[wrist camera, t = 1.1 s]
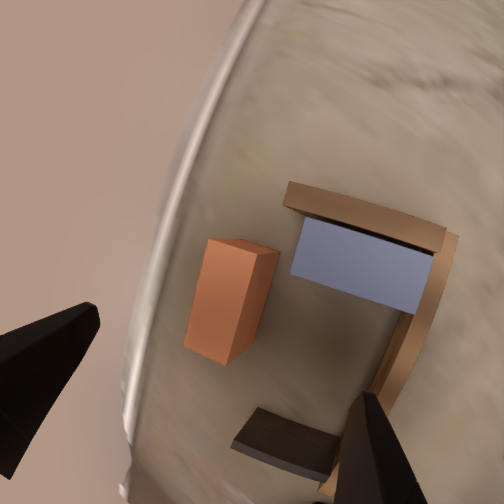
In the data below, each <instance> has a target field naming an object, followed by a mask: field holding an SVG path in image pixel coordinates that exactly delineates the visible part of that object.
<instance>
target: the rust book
mask: <svg viewBox="0 0 504 504" xmlns="http://www.w3.org/2000/svg"><path fill="white" fill-rule="evenodd" d="M279 254H280V252H279V251H276V250H273V249H270V248H267V247H263V246H260V245H257V244H254V243H251V242H247V241H244V240H241V239H208V243H207V247H206V251H205V255H204V259H203V263H202V267H201V271H200V275H199V279H198V284H197V288H196V292H195V296H194V301H193V305H192V309H191V314H190V318H189V323H188V327H187V332H186V336H185V341H184V346H185V347H187V348H189V349H191V350H193V351H195V352H197V353H199V354H201V355H203V356H205V357H207V358H209V359H212V360H214V361H216V362H218V363H220V364H222V365H224V366H226V365H227V364H229V363H230V362H231V361H232V360H233V359H235V358H236V357H237V356H238V355H239V354H241V353H242V352H243V351H244V350H245V349H246V348H248V347H249V346H250V345H251V344H252V343H253V341H254V338H255V335H256V331H257V328H258V325H259V322H260V318H261V315H262V312H263V308H264V305H265V302H266V298H267V295H268V292H269V288H270V285H271V282H272V278H273V275H274V271H275V268H276V264H277V261H278V258H279Z"/></svg>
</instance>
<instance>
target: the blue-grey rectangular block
mask: <svg viewBox="0 0 504 504" xmlns="http://www.w3.org/2000/svg"><path fill="white" fill-rule="evenodd" d="M433 258H434V257H432V256H430V255H427V254H424V253H421V252H418V251H415V250H412V249H409V248H406V247H403V246H400V245H397V244H394V243H391V242H388V241H384V240H381V239H378V238H375V237H372V236H369V235H365V234H362V233H359V232H356V231H353V230H349V229H346V228H343V227H339V226H336V225H333V224H329V223H326V222H322V221H319V220H315V219H312V218H308V217H305V221H304V224H303V228H302V231H301V235H300V238H299V242H298V245H297V249H296V252H295V256H294V259H293V263H292V266H291V269H290V273H289V274H292V275H295V276H298V277H301V278H304V279H307V280H310V281H313V282H316V283H319V284H322V285H325V286H328V287H331V288H334V289H337V290H340V291H343V292H346V293H349V294H352V295H355V296H358V297H361V298H365V299H368V300H371V301H374V302H377V303H380V304H383V305H386V306H389V307H392V308H395V309H398V310H401V311H405V312H408V313H411V314H414V315H415V313H416V310H417V307H418V305H419V302H420V299H421V296H422V293H423V290H424V287H425V284H426V281H427V278H428V275H429V272H430V268H431V265H432V262H433Z"/></svg>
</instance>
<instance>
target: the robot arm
mask: <svg viewBox="0 0 504 504" xmlns="http://www.w3.org/2000/svg"><path fill="white" fill-rule="evenodd" d="M99 328H100V318H99V313H98V309H97V307H96V305H94V304H92V303H90V302H84V303H81V304H79V305H76V306H73V307H71V308H68V309H66V310H63V311H61V312H58V313H55V314H53V315H50V316H48V317H46V318H43V319H40V320H38V321H35V322H33V323H30V324H28V325H25V326H23V327H20V328H18V329H15V330H13V331H10V332H8V333H5V334H4V335H0V474H1V475H3V476H4V477H5V478H7V479H9V480H10V479H11V478H12V476H13V474H14V472H15V470H16V468H17V466H18V464H19V463H20V461H21V459H22V457H23V455H24V454H25V452H26V450H27V448H28V446H29V444H30V442H31V441H32V439H33V437H34V435H35V434H36V432H37V430H38V429H39V427H40V425H41V424H42V422H43V420H44V419H45V417H46V415H47V414H48V412H49V410H50V409H51V407H52V406H53V404H54V402H55V401H56V399H57V397H58V396H59V395H60V393H61V391H62V390H63V388H64V387H65V385H66V384H67V382H68V381H69V379H70V378H71V376H72V374H73V373H74V372H75V370H76V369H77V367H78V366H79V364H80V362H81V361H82V359H83V357H84V356H85V354H86V352H87V350H88V348H89V346H90V344H91V343H92V341H93V339H94V337H95V335H96V333H97V332H98V330H99ZM416 481H417V479H416V477H415V475H414V473H413V471H412V468H411V466H410V464H409V462H408V460H407V458H406V455H405V453H404V451H403V449H402V447H401V445H400V443H399V441H398V439H397V436H396V434H395V432H394V430H393V428H392V426H391V424H390V422H389V420H388V418H387V416H386V414H385V412H384V410H383V408H382V406H381V404H380V402H379V400H378V398H377V396H376V394H375V393H373V392H369V391H362V392H361V393H360V394H359V395H358V397H357V398H356V399H355V401H354V402H353V403H352V405H351V407H350V410H349V415H348V420H347V425H346V430H345V434H344V439H343V443H342V448H341V454H340V462H339V470H338V478H337V485H336V492H335V498H334V504H428V503H427V501H426V499H425V497H424V494H423V492H422V490H421V488H420V486H419V484H418V482H416ZM314 504H322V503H318V502H316V503H314Z"/></svg>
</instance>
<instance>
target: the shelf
mask: <svg viewBox="0 0 504 504" xmlns="http://www.w3.org/2000/svg"><path fill="white" fill-rule="evenodd" d="M283 205H284V206H286V207H288V208H290V209H292V210H294V211H296V212H299V213H301V214H304V215H308V216H311V217H315V218H318V219H322V220H325V221H329V222H332V223H335V224H339V225H342V226H345V227H349V228H352V229H355V230H359V231H362V232H365V233H368V234H371V235H375V236H378V237H381V238H384V239H387V240H390V241H393V242H396V243H399V244H403V245H406V246H409V247H412V248H415V249H418V250H420V251H422V252H421V253H424V254H427V255H430V256H432V257H434V258H433V262H432V265H431V268H430V272H429V275H428V278H427V281H426V284H425V287H424V290H423V293H422V296H421V299H420V302H419V305H418V307H417V310H416V313H415V315H414V314H411V313H408V312H405V311H402V313H401V316H400V318H399V321H398V324H397V326H396V329H395V331H394V334H393V336H392V339H391V341H390V343H389V346H388V348H387V350H386V353H385V355H384V357H383V360H382V362H381V364H380V366H379V368H378V371H377V373H376V375H375V377H374V379H373V381H372V383H371V385H370V387H369V389H368V391H369V392H373V393H375V394H376V396H377V398H378V400H379V402H380V404H381V406H382V408H383V410H384V412H385V414H386V416H387V415H388V414H389V412H390V410H391V408H392V407H393V405H394V403H395V401H396V399H397V397H398V396H399V394H400V392H401V390H402V388H403V386H404V384H405V382H406V380H407V378H408V376H409V374H410V372H411V370H412V368H413V366H414V363H415V361H416V359H417V357H418V355H419V352H420V350H421V348H422V346H423V343H424V341H425V339H426V336H427V334H428V331H429V329H430V326H431V324H432V321H433V318H434V316H435V313H436V310H437V308H438V305H439V302H440V299H441V296H442V293H443V290H444V287H445V284H446V281H447V278H448V275H449V271H450V268H451V264H452V261H453V257H454V254H455V250H456V246H457V242H458V238H459V236H457V235H455V234H452V233H449V232H446V230H447V228H445V227H442V226H439V225H437V224H434V223H431V222H428V221H425V220H422V219H419V218H416V217H413V216H410V215H407V214H404V213H401V212H398V211H395V210H392V209H389V208H385V207H382V206H379V205H376V204H372V203H369V202H366V201H362V200H359V199H355V198H352V197H348V196H345V195H341V194H338V193H334V192H330V191H327V190H323V189H319V188H315V187H311V186H308V185H304V184H300V183H296V182H291V181H289V184H288V188H287V191H286V195H285V199H284V202H283ZM343 439H344V435H343V437H342V439H341V441H340V442H339V444H338V446H337V449H336V454H335V459H334V463H333V468H332V472H331V476H330V477H329V479H328V480H327V482H326V483H322V482H320V485H319V488H318V491H317V493H320V494H324V495H327V496H331V497H332V496H333V494H334V493H335V492H336V485H337V478H338V470H339V462H340V454H341V448H342V443H343Z"/></svg>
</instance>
